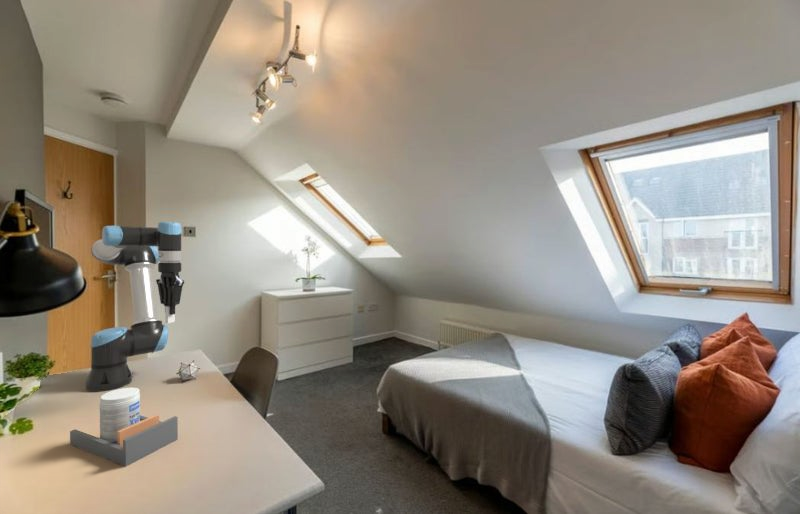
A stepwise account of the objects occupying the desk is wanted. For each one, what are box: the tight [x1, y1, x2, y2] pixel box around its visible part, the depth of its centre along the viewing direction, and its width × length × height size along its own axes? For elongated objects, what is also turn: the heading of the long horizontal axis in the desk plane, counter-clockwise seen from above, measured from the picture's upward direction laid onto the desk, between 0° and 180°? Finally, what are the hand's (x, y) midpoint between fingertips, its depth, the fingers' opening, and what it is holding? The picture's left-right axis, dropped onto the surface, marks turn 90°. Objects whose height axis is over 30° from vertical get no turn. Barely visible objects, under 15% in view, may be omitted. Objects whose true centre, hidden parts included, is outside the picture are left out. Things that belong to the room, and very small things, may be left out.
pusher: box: [117, 414, 160, 447], centre depth 102 cm, size 4×11×7 cm, turn 158°
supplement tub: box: [99, 387, 141, 444], centre depth 106 cm, size 10×10×15 cm
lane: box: [69, 414, 179, 467], centre depth 105 cm, size 26×14×7 cm, turn 68°
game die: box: [175, 360, 201, 383], centre depth 154 cm, size 9×8×10 cm
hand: (170, 322), depth 136 cm, fingers closed
